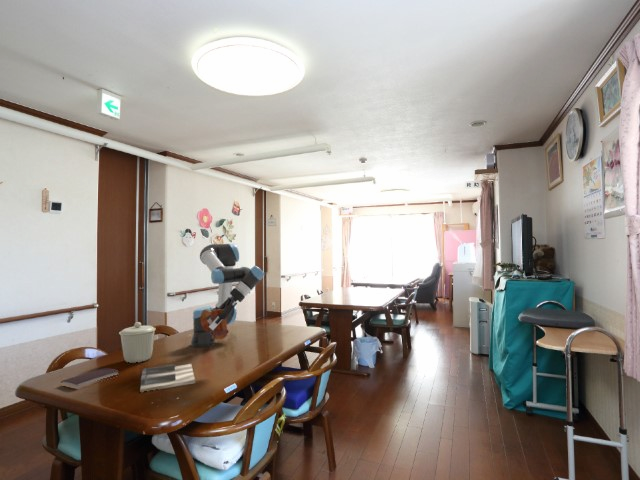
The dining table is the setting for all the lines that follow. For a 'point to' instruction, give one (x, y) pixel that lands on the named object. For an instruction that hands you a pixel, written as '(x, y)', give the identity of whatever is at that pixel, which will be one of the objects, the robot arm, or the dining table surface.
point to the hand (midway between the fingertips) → (209, 326)
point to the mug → (221, 328)
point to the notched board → (166, 377)
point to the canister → (137, 342)
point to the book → (90, 377)
